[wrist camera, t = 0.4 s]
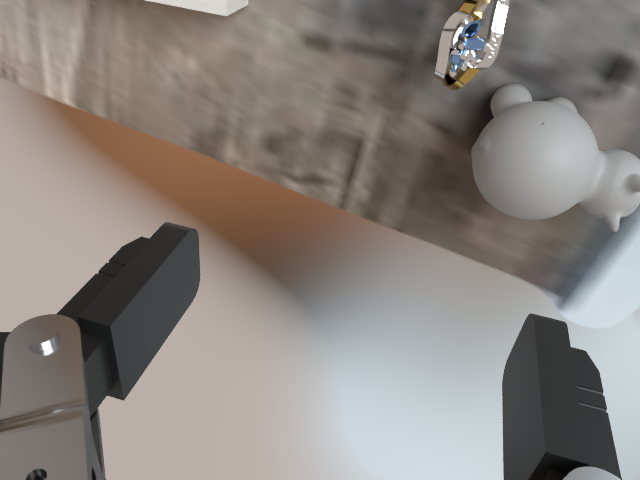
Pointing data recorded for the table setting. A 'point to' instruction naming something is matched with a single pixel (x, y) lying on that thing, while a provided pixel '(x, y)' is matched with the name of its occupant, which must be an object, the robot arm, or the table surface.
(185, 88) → the table surface
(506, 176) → the chubby cartoon animal
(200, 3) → the socket
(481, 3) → the ring
